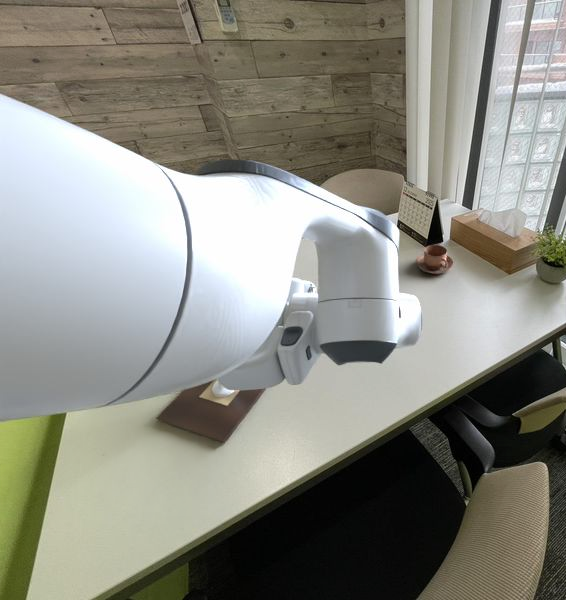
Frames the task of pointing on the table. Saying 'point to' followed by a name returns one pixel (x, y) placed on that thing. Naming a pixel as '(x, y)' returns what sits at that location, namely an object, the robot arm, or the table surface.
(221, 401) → the board
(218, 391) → the chess piece
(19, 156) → the robot arm
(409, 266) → the table surface
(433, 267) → the cup and saucer
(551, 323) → the table surface
